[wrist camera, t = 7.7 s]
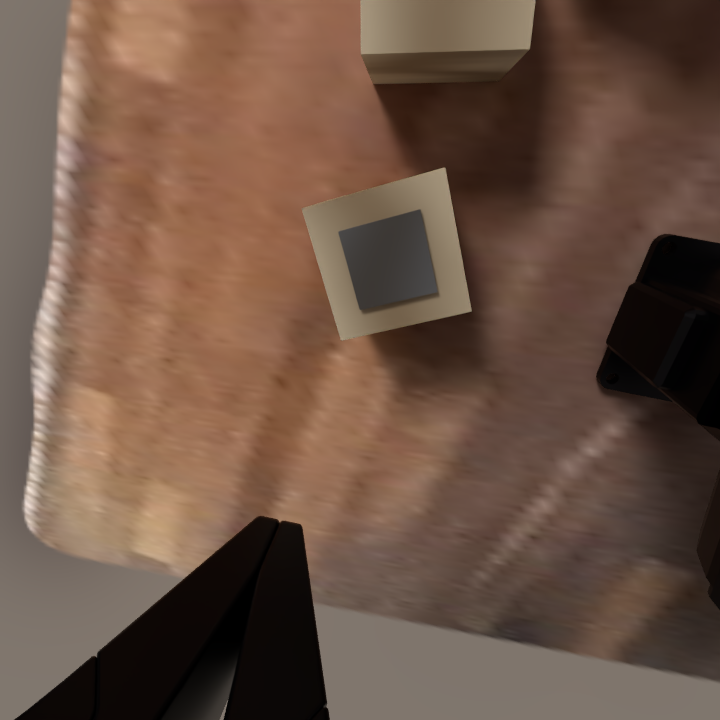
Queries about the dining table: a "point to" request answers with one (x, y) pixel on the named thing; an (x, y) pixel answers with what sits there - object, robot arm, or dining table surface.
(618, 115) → the dining table surface
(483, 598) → the dining table surface
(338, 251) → the labelled block
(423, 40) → the plain block
